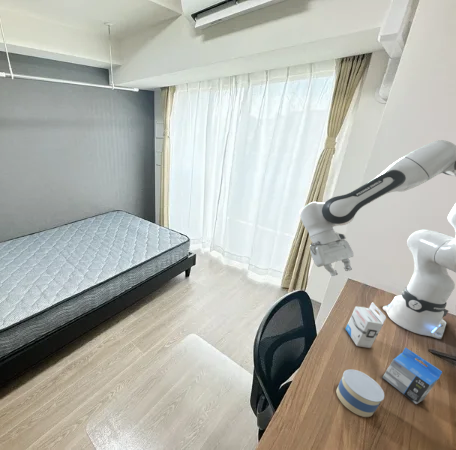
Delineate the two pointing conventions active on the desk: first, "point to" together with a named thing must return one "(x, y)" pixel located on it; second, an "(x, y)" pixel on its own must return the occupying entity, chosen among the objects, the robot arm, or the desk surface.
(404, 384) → the label tape box
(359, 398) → the yogurt tub
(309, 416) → the desk surface
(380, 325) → the ink box
